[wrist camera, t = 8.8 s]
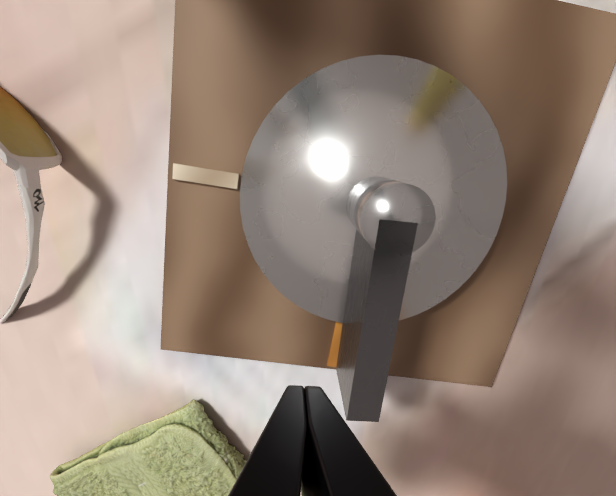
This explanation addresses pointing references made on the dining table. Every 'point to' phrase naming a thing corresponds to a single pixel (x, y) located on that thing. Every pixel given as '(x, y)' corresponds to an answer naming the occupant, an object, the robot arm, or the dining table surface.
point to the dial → (372, 203)
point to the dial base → (324, 52)
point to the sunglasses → (26, 176)
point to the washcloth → (156, 461)
